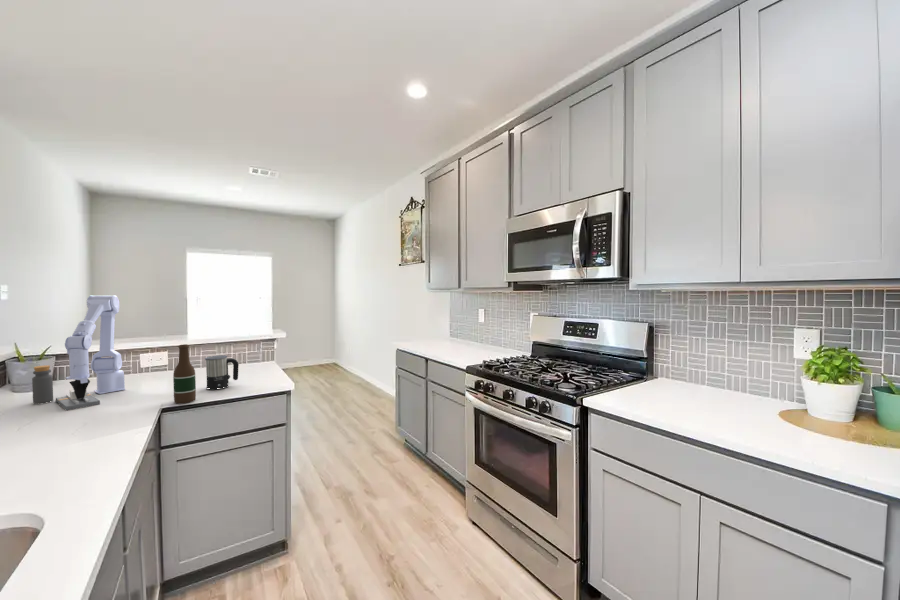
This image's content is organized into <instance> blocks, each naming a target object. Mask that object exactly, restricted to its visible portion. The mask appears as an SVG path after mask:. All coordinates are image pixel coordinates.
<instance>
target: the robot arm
mask: <svg viewBox="0 0 900 600" xmlns="http://www.w3.org/2000/svg"><path fill="white" fill-rule="evenodd" d="M86 306H87V311H86V314H85V316H84V319H83V320H82V321H79V322H78V324H77V325H76V327H75V329H74V331H73V333H72V335H70V336H68V337H67V338H66V339H65V343H64V347H65V349H66V353H67V355H68V362H69V363H68V365H69V366H68V367H69V376H66V377H65V379H66V380H71V381H69V384H70V385H71V387H72V390H74V392H75V395H76V398H77V399H79V398H84V396H85V393H87V389H88V386H89V384H90V382H91V380H90V379H89V378H90V376H91V374H90V369H91V371H92V372H94V374H96V389H95V390H93V392H95V393H96V394H98V395H102V394H107V393H113V392H118V391H119V392H120V391H123V390H126V387H125V373H124V370H123V369H121V368H122V367H123V360H122V354H121V353H120V352H118V351H116V350H115V348H114V347H115V324H116V321H115V320H116V315H117V314H119V312H120V300H119V297H118V296H117V295H116V294H113V295H89V296H88V297H87V298H86ZM99 317H100V331H99V332H100V333H99V351H97V352H95V353H94V354H93V355H92V359H91V362H90V361H89V349H90V348H91V346H92V342H93V341H92V340H93V334H94V332H95V330H96V328H97V325H96V324H95V323H96V322H97V321H98V319H99ZM89 366H90V367H89Z"/></svg>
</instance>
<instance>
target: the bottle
mask: <svg viewBox="0 0 900 600" xmlns="http://www.w3.org/2000/svg"><path fill="white" fill-rule="evenodd" d="M50 367H51V365H50V364H47V365H44V364H43V365H36V366H34V367H33V369H34V371H33V372H32V374H33V375H35V376H33V377H32V378H31V379H32V380H31V385H32V387H31V389H32V403H34V404H33V405H39V404H38V403H43V404H47V403H46V402H48V403H51V402H50V401H52V402H53V401H54V386H53V385H54V383H53V375H52V374H50V373H51V372H52V369H50Z"/></svg>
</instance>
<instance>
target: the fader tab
mask: <svg viewBox="0 0 900 600" xmlns="http://www.w3.org/2000/svg"><path fill="white" fill-rule="evenodd" d="M87 393H88V392H86V393H85V396H84V397H87ZM69 395H70V398H71V399H77V398H76V395H75V392H74V389H69ZM79 399H80V398H79ZM77 400H78V399H77Z"/></svg>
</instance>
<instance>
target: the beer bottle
mask: <svg viewBox="0 0 900 600" xmlns="http://www.w3.org/2000/svg"><path fill="white" fill-rule="evenodd" d="M189 348H190V345H189V344H179V345H178V351H179V352H178V362H177V365H176V366H175V368H174V370H173V377H172V378H173V379H172V380H173V401H174V403H175V404H176V405H177V404H179V405H181V404H182V405H183V404H189V403H193V402H194V401H196V399H197V398H196V397H197V394H196V393H197V392H196V391H197V390H196V385H197V383H196V382H197V380H196V370H195V367H194V366H193V365H192V363H191V361H190V360H191V359H190V351H189Z"/></svg>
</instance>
